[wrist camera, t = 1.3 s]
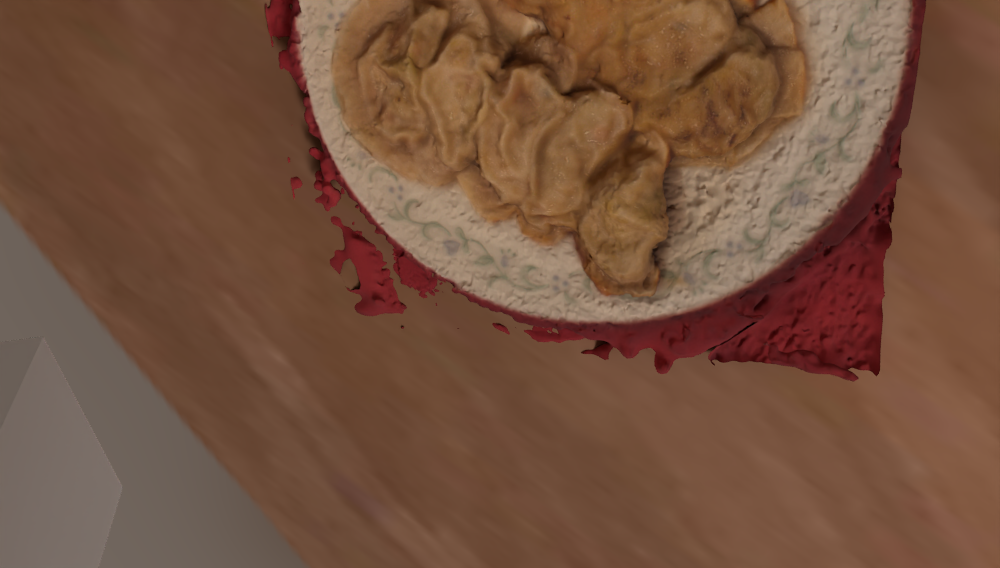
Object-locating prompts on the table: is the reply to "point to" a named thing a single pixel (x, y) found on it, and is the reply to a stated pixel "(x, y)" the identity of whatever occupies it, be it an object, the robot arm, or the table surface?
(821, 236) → the plate with food
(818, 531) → the table surface
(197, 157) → the table surface
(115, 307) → the table surface
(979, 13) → the table surface
